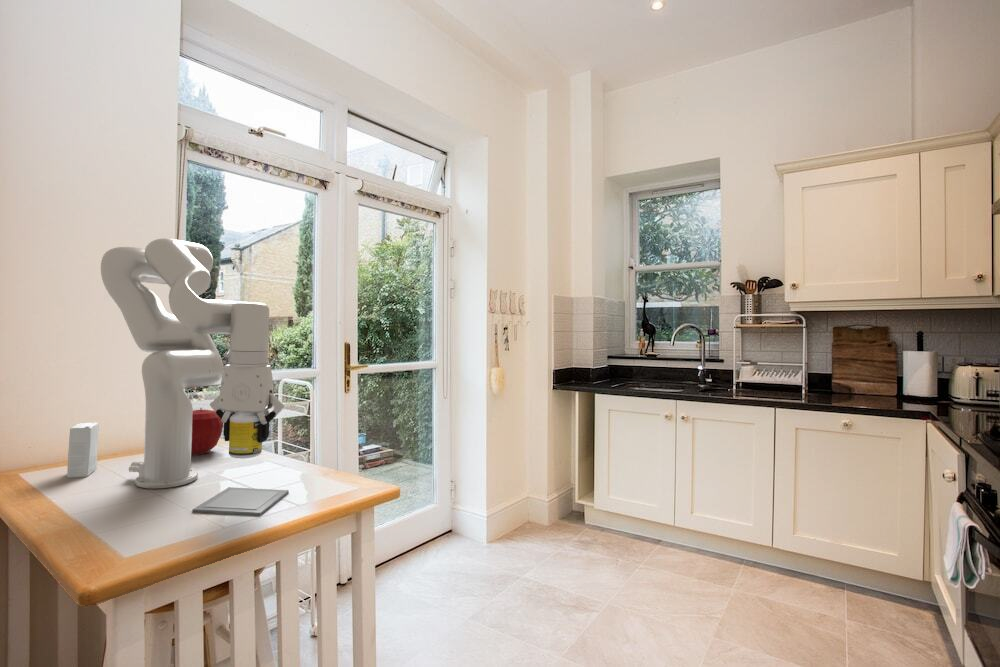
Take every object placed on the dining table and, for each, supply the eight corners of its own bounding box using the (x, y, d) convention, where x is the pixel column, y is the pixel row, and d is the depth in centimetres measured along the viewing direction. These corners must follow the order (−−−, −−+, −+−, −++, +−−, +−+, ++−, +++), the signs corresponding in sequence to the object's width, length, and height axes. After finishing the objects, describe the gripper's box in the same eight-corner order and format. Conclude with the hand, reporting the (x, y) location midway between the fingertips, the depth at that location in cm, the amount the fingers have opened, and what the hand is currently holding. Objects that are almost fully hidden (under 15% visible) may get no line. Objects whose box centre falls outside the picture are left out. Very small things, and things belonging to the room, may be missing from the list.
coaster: (192, 512, 105) (192, 508, 105) (228, 489, 119) (228, 486, 119) (260, 515, 105) (260, 512, 105) (288, 492, 119) (288, 489, 119)
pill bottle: (248, 460, 107) (250, 405, 107) (221, 457, 109) (223, 403, 108) (268, 453, 114) (270, 401, 114) (242, 450, 115) (244, 399, 115)
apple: (228, 454, 148) (230, 408, 147) (183, 460, 139) (184, 412, 139) (214, 445, 156) (216, 402, 156) (170, 451, 148) (172, 405, 147)
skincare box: (75, 471, 127) (77, 422, 126) (98, 469, 128) (99, 422, 128) (66, 478, 121) (67, 427, 121) (89, 477, 123) (90, 427, 122)
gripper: (199, 358, 107) (196, 442, 108) (281, 361, 107) (278, 446, 108) (218, 356, 115) (216, 435, 115) (295, 359, 115) (292, 438, 115)
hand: (246, 439), depth 111 cm, fingers closed on pill bottle, 6 cm apart
